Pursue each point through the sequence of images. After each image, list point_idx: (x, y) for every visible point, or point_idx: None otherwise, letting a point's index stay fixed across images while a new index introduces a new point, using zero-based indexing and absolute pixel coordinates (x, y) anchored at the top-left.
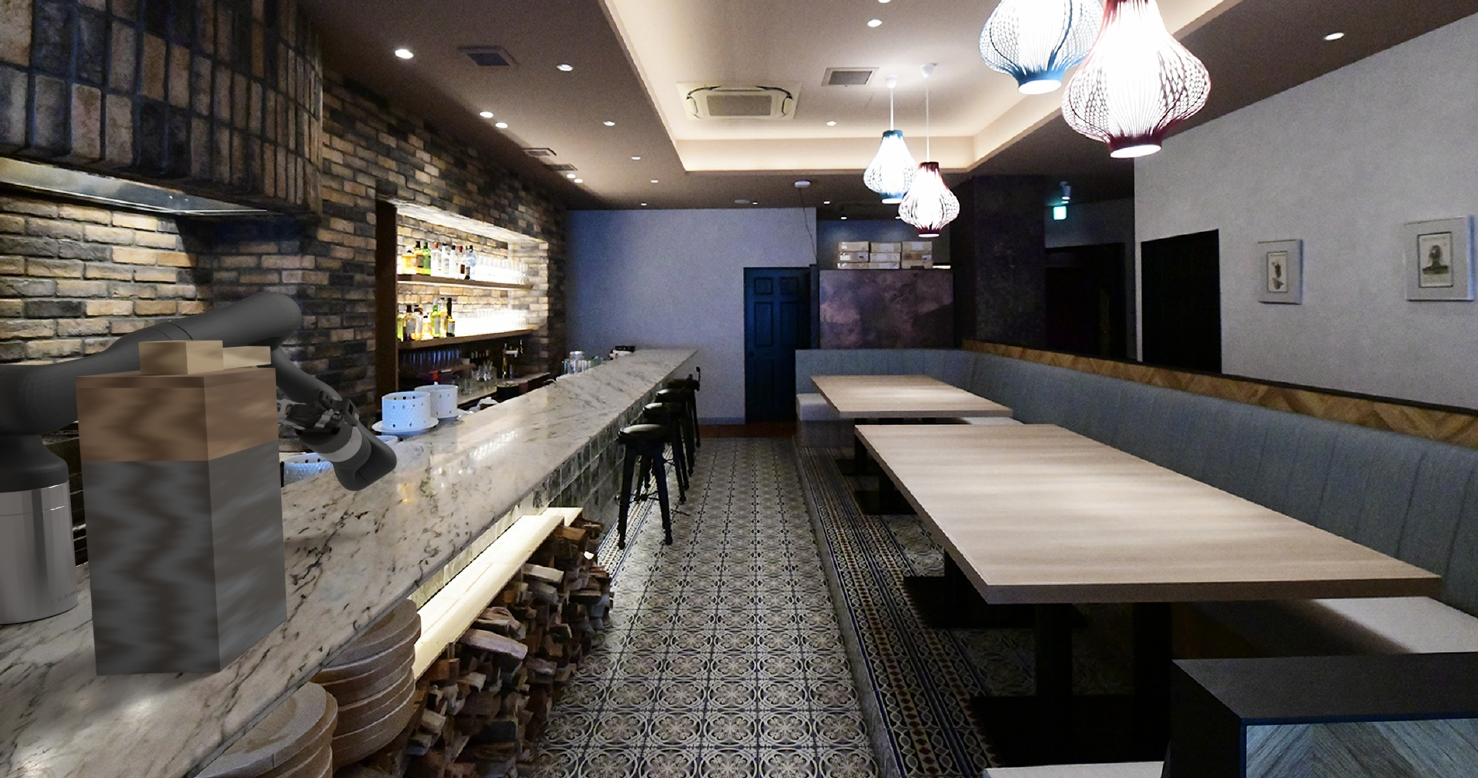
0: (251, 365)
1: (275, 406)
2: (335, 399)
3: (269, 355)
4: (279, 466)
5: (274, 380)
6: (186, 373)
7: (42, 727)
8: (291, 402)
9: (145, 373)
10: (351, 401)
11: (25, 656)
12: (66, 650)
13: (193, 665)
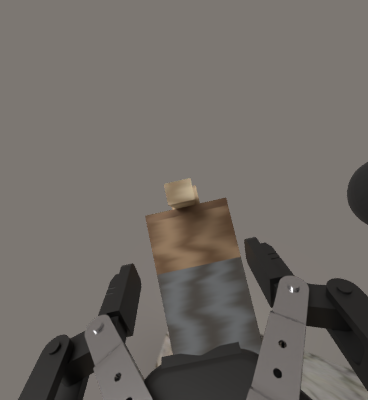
0: (173, 207)
1: (152, 246)
2: (90, 328)
3: (166, 195)
4: (162, 298)
5: (147, 225)
6: None
7: None
8: (262, 343)
9: None
10: (34, 367)
11: (322, 362)
12: (308, 372)
13: None
